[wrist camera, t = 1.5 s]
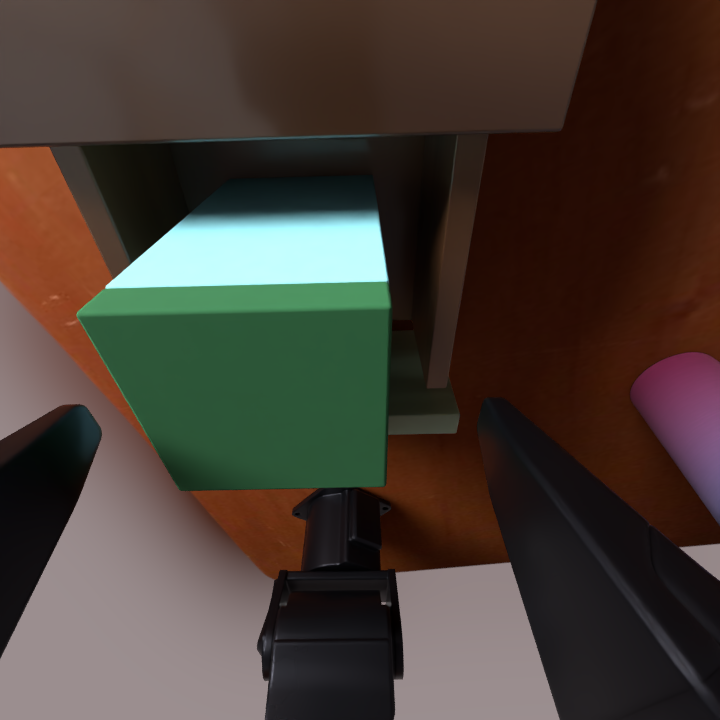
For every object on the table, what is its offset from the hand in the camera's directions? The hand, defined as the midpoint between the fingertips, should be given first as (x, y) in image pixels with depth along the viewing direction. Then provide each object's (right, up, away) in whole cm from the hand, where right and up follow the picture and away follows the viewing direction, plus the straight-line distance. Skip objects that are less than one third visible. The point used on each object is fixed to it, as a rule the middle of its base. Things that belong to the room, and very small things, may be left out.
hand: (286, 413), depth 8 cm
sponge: (-1, +6, +8) cm, 10 cm away
